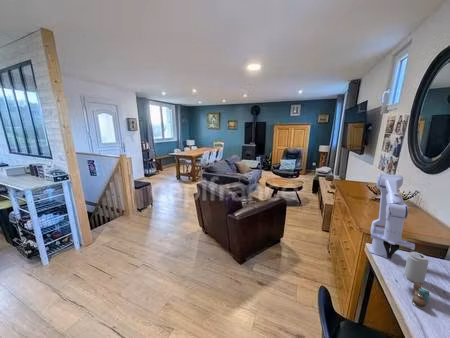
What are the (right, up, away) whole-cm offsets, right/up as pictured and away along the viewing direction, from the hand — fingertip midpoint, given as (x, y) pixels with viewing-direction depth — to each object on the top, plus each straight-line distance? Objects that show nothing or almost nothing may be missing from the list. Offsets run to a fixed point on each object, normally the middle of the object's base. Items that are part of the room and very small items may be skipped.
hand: (388, 257), depth 84 cm
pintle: (-1, -12, -13) cm, 18 cm away
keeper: (+3, -12, -11) cm, 17 cm away
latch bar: (+2, -11, -11) cm, 15 cm away
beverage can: (+11, -10, -1) cm, 14 cm away
